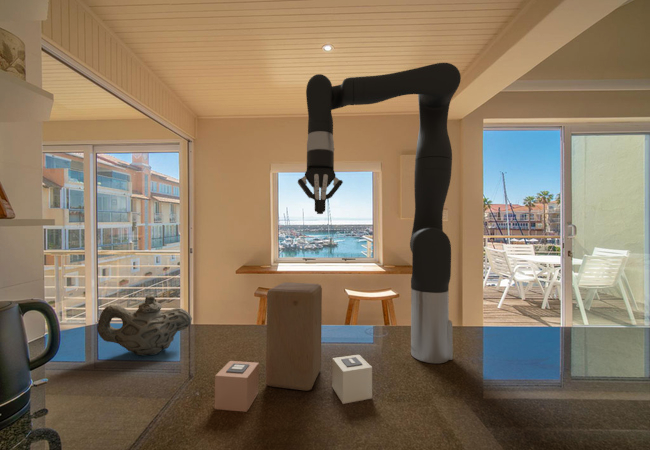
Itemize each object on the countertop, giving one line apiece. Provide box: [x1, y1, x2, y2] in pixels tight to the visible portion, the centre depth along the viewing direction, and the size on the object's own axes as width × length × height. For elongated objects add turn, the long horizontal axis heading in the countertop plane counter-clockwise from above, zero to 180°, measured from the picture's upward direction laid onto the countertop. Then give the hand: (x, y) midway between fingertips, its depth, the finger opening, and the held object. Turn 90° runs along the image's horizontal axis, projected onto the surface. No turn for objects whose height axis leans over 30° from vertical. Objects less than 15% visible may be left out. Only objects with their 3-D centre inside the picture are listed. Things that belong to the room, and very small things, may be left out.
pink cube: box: [214, 360, 260, 413], centre depth 54 cm, size 6×6×6 cm
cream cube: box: [331, 354, 373, 405], centre depth 57 cm, size 6×6×6 cm
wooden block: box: [265, 281, 323, 392], centre depth 63 cm, size 10×10×20 cm
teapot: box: [96, 295, 193, 356], centre depth 75 cm, size 21×12×15 cm, turn 115°
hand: (319, 213), depth 80 cm, fingers closed
